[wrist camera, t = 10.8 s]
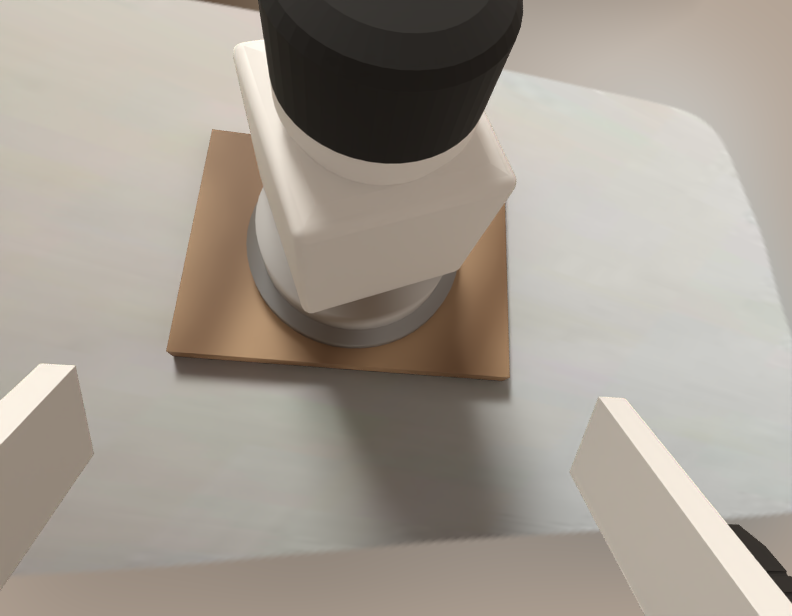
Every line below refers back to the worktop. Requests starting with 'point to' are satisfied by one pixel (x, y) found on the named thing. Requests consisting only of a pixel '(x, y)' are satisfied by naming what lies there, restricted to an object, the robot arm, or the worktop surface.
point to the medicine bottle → (377, 136)
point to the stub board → (266, 341)
